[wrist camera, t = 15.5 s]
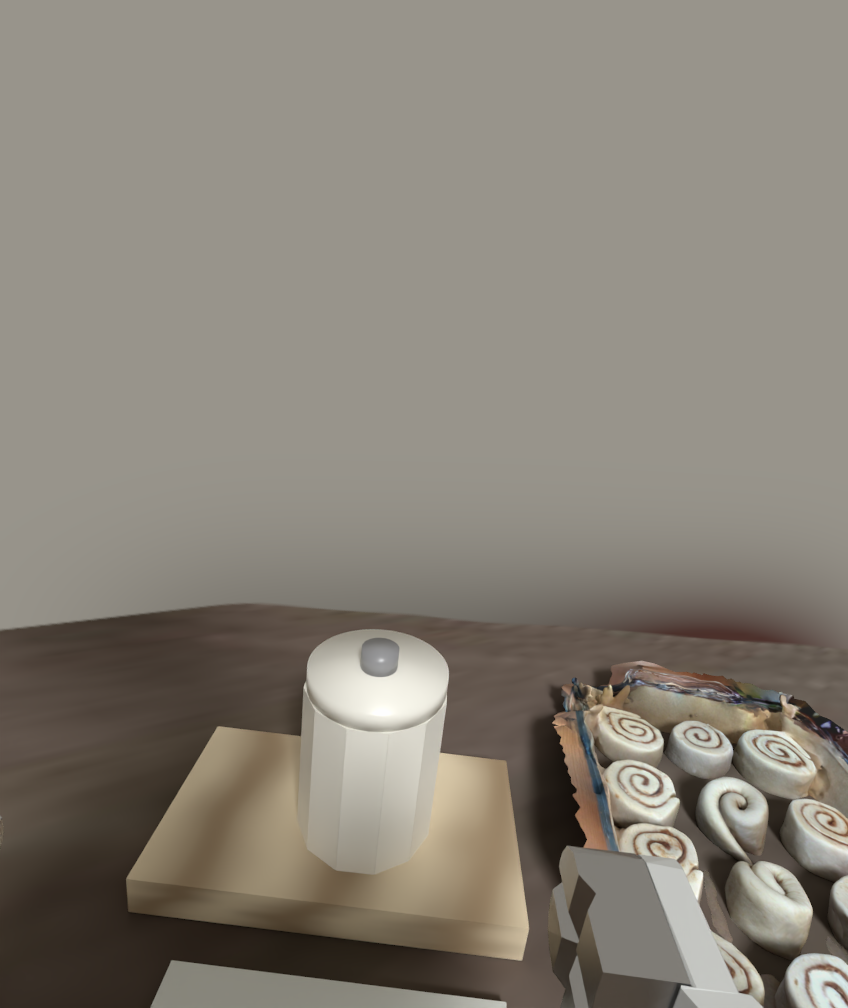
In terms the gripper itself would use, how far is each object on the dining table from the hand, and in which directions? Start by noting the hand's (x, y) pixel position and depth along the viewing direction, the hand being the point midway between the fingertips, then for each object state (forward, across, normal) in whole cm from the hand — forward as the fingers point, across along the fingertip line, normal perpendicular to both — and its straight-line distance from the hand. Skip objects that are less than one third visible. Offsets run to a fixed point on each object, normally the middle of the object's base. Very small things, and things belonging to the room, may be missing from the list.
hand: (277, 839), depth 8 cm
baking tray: (+20, -22, +20) cm, 35 cm away
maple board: (+17, +1, +19) cm, 26 cm away
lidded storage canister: (+17, 0, +17) cm, 24 cm away
